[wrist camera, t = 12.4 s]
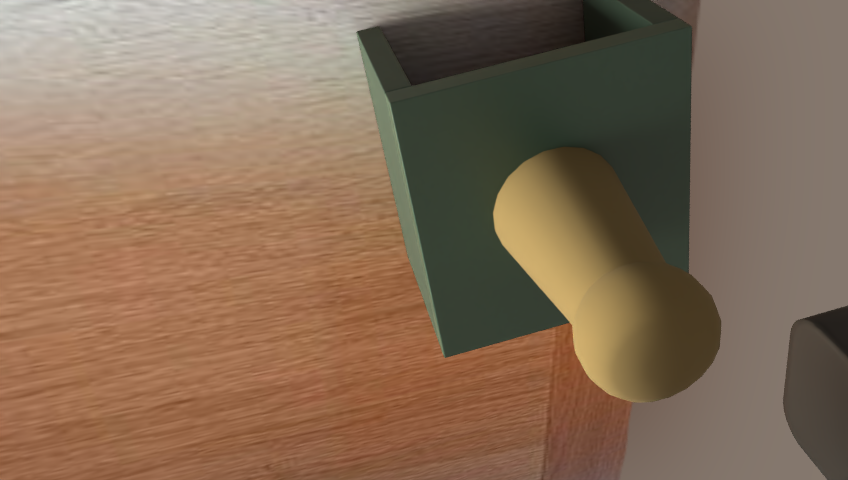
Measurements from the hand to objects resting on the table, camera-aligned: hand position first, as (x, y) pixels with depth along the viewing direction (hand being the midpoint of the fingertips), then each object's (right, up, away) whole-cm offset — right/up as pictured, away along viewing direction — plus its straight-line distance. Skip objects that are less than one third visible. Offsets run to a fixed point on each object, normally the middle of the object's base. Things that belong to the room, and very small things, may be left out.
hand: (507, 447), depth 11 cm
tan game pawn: (+5, +4, +26) cm, 27 cm away
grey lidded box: (+3, +9, +34) cm, 35 cm away
